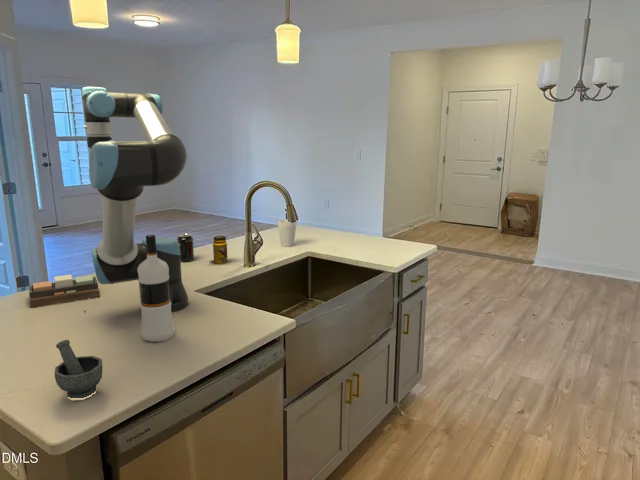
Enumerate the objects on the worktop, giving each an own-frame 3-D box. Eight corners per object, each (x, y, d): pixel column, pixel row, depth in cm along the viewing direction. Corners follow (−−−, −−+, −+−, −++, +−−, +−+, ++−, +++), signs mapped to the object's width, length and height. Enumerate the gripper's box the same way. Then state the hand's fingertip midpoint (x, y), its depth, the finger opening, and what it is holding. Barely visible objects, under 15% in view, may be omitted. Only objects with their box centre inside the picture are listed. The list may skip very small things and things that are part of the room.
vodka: (166, 344, 131) (158, 239, 124) (135, 342, 132) (125, 238, 125) (180, 330, 140) (173, 232, 133) (151, 328, 141) (142, 231, 134)
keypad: (99, 297, 167) (98, 284, 166) (31, 307, 157) (29, 295, 156) (95, 286, 178) (94, 275, 177) (31, 296, 168) (29, 284, 167)
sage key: (94, 287, 169) (93, 279, 168) (77, 289, 166) (76, 282, 165) (92, 282, 174) (91, 275, 173) (75, 285, 171) (74, 277, 170)
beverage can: (196, 258, 217) (194, 233, 214) (190, 262, 210) (189, 236, 207) (181, 258, 217) (180, 233, 215) (176, 262, 211) (174, 236, 208)
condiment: (228, 264, 208) (226, 238, 205) (208, 265, 206) (207, 238, 204) (228, 260, 215) (227, 234, 212) (209, 261, 214) (208, 235, 211)
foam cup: (274, 246, 240) (274, 221, 237) (283, 242, 248) (282, 218, 245) (291, 248, 236) (291, 223, 233) (299, 244, 244) (299, 220, 241)
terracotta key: (52, 293, 162) (51, 285, 162) (34, 296, 160) (33, 288, 159) (52, 288, 167) (51, 280, 167) (34, 290, 165) (33, 283, 164)
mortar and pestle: (114, 389, 108) (109, 341, 105) (76, 410, 100) (70, 358, 97) (83, 377, 113) (77, 331, 111) (45, 395, 105) (38, 346, 103)
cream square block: (73, 286, 165) (72, 278, 165) (55, 289, 162) (54, 281, 162) (72, 281, 170) (71, 274, 170) (54, 284, 168) (54, 276, 167)
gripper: (84, 135, 160) (92, 204, 165) (88, 136, 149) (96, 209, 154) (108, 135, 164) (115, 202, 169) (114, 136, 153) (120, 207, 158)
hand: (106, 206), depth 162 cm, fingers closed
